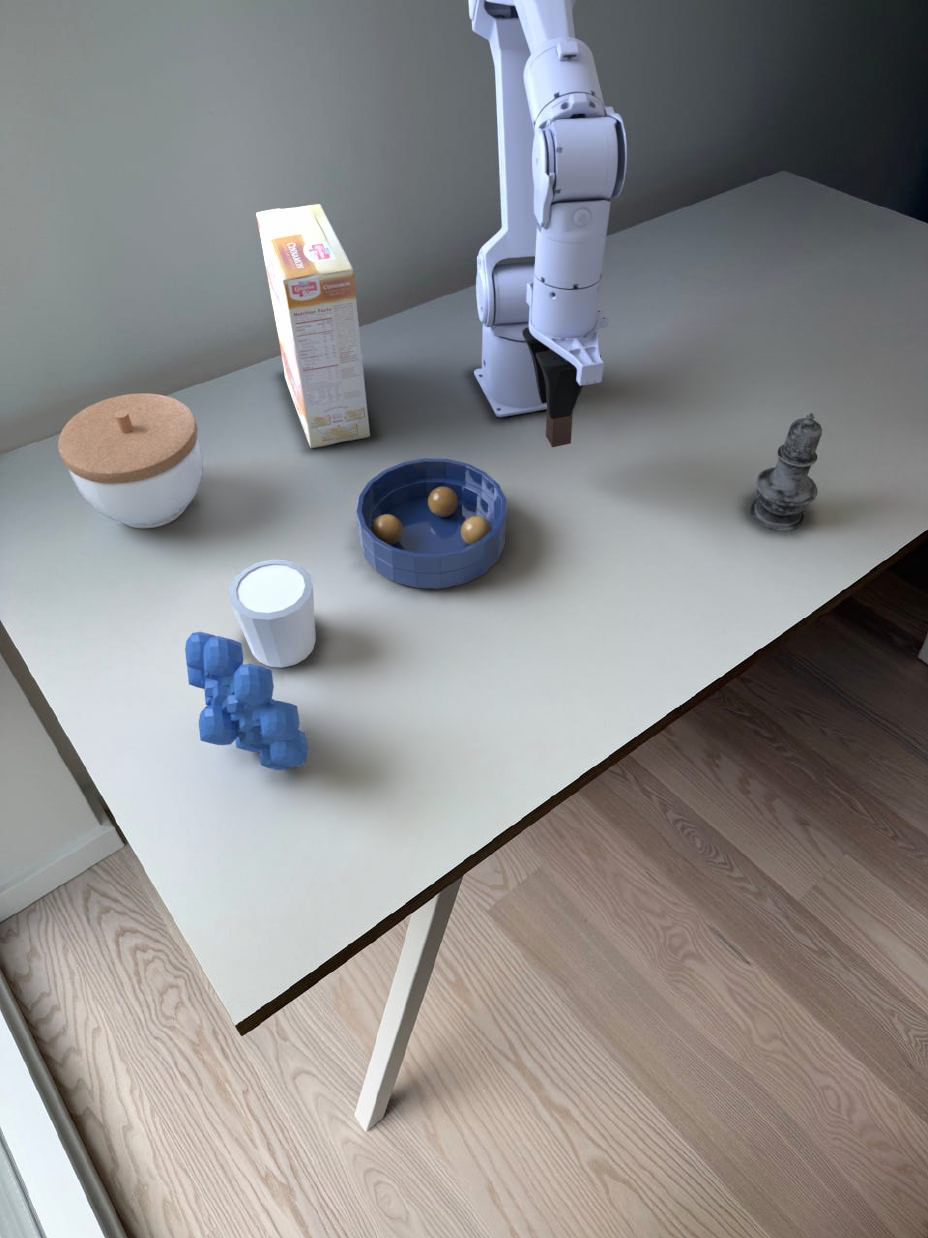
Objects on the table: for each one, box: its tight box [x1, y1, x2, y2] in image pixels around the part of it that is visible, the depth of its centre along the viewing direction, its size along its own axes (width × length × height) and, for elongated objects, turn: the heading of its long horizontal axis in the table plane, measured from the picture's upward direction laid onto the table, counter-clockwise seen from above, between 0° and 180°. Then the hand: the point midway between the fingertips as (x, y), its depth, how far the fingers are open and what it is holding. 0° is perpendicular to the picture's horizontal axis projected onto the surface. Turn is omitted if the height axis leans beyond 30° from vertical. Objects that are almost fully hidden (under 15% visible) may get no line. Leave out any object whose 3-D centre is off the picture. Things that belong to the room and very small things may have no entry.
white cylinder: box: [228, 558, 317, 669], centre depth 76 cm, size 7×7×7 cm
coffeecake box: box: [255, 203, 371, 449], centre depth 95 cm, size 15×7×20 cm, turn 18°
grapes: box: [184, 631, 309, 771], centre depth 66 cm, size 12×7×12 cm, turn 51°
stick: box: [545, 348, 574, 448], centre depth 85 cm, size 2×2×10 cm
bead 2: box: [428, 486, 458, 517], centre depth 88 cm, size 3×3×3 cm
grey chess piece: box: [749, 412, 823, 532], centre depth 85 cm, size 6×6×12 cm
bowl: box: [355, 458, 507, 589], centre depth 85 cm, size 14×14×4 cm
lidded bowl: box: [57, 392, 204, 529], centre depth 86 cm, size 13×13×11 cm
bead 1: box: [371, 514, 403, 546], centre depth 85 cm, size 3×3×3 cm
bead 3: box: [461, 516, 492, 546], centre depth 85 cm, size 3×3×3 cm
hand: (555, 407), depth 86 cm, fingers closed on stick, 2 cm apart
